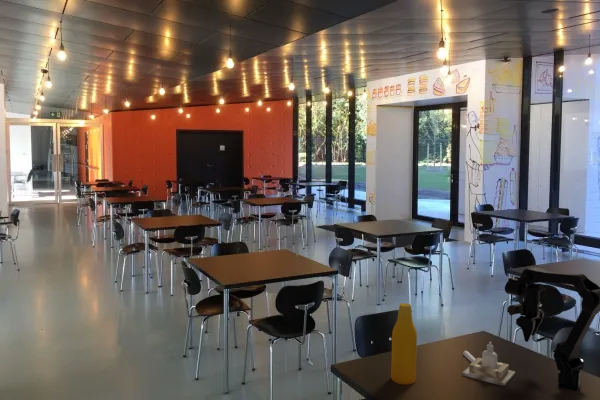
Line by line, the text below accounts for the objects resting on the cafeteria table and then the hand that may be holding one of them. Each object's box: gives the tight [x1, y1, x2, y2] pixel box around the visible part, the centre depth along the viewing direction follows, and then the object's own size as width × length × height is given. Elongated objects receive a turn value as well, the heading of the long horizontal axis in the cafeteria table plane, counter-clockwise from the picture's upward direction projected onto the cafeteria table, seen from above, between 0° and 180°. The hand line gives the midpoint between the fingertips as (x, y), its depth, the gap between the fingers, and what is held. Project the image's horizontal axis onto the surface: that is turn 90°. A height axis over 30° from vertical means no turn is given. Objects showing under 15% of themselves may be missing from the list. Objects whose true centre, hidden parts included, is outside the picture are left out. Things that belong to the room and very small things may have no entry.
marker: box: [462, 350, 476, 364], centre depth 222 cm, size 3×2×16 cm
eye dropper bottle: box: [481, 341, 498, 369], centre depth 206 cm, size 4×6×12 cm
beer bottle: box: [390, 302, 418, 386], centre depth 200 cm, size 9×9×29 cm
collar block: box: [461, 357, 516, 387], centre depth 206 cm, size 16×14×4 cm
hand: (529, 338), depth 210 cm, fingers open, 9 cm apart
